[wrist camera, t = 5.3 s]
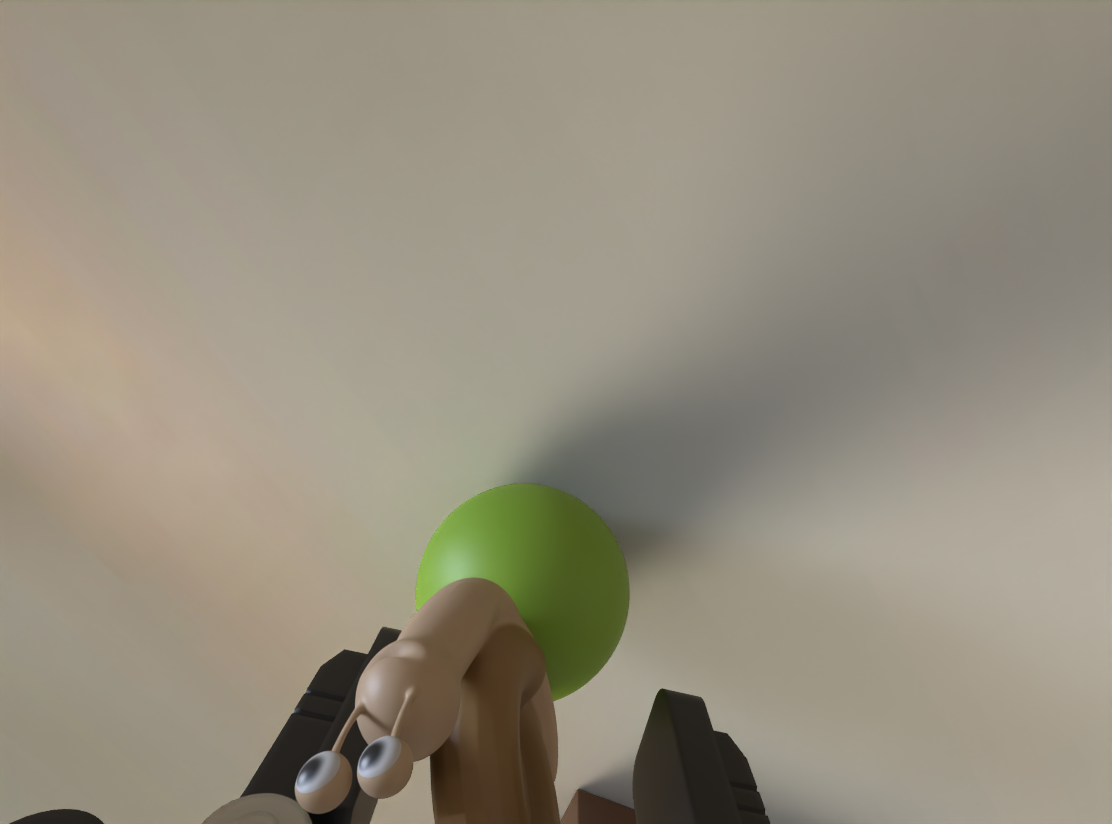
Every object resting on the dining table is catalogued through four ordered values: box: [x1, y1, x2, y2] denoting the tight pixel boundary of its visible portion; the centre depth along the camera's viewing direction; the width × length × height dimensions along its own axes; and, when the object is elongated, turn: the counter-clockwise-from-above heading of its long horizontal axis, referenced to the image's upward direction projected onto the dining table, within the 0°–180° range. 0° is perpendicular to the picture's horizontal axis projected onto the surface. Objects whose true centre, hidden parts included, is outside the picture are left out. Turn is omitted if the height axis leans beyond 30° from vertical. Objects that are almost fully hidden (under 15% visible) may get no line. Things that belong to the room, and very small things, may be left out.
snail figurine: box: [295, 484, 630, 824], centre depth 12 cm, size 5×6×12 cm
